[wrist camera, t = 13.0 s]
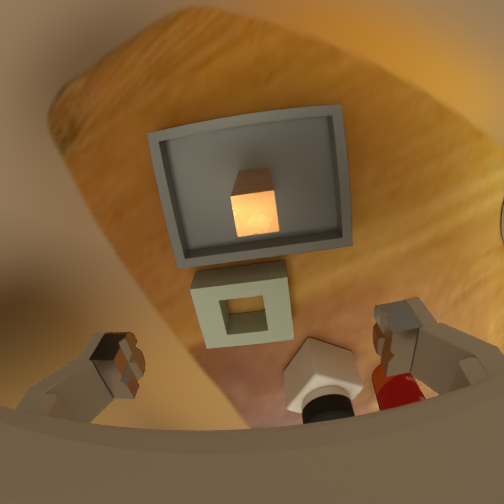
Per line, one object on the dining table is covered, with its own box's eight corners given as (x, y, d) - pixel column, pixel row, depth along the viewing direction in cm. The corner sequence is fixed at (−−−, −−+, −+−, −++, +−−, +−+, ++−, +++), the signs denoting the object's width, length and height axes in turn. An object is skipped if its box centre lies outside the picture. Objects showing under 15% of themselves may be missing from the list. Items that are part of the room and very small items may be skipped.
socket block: (284, 260, 36) (287, 277, 32) (291, 318, 39) (294, 339, 35) (196, 271, 37) (189, 289, 33) (210, 327, 40) (206, 348, 36)
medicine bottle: (282, 371, 43) (287, 442, 32) (308, 335, 40) (322, 407, 29) (325, 384, 44) (338, 450, 33) (352, 350, 41) (375, 417, 30)
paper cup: (406, 384, 45) (435, 451, 32) (362, 393, 45) (383, 466, 32) (416, 348, 41) (453, 419, 29) (368, 357, 42) (396, 435, 29)
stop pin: (268, 167, 31) (273, 190, 22) (272, 196, 32) (279, 231, 23) (238, 171, 31) (230, 196, 22) (242, 200, 32) (237, 236, 23)
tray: (333, 104, 29) (341, 104, 26) (345, 235, 35) (352, 245, 32) (155, 131, 30) (146, 133, 28) (183, 256, 36) (177, 268, 33)
